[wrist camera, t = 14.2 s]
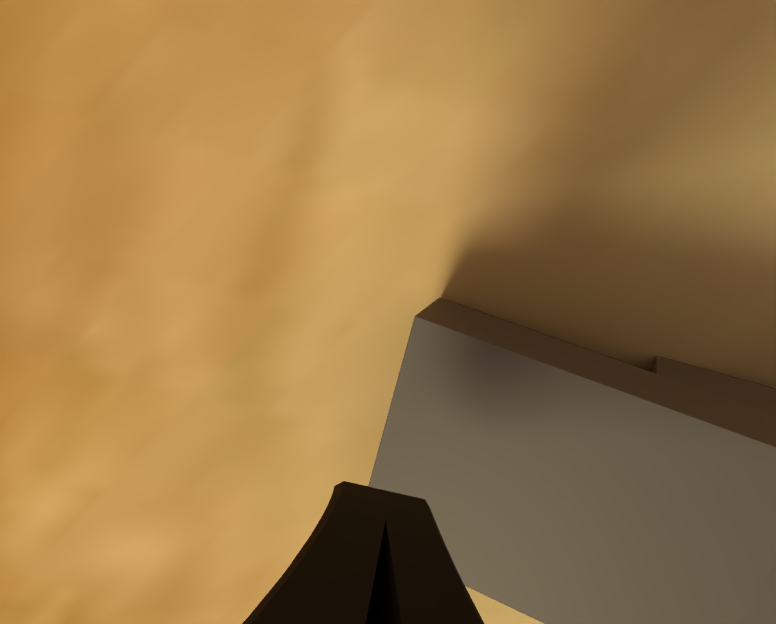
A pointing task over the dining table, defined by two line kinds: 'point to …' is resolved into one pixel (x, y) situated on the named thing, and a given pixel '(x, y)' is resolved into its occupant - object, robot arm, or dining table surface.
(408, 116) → the dining table surface
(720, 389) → the domino
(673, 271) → the dining table surface
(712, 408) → the domino
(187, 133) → the dining table surface
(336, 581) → the robot arm
